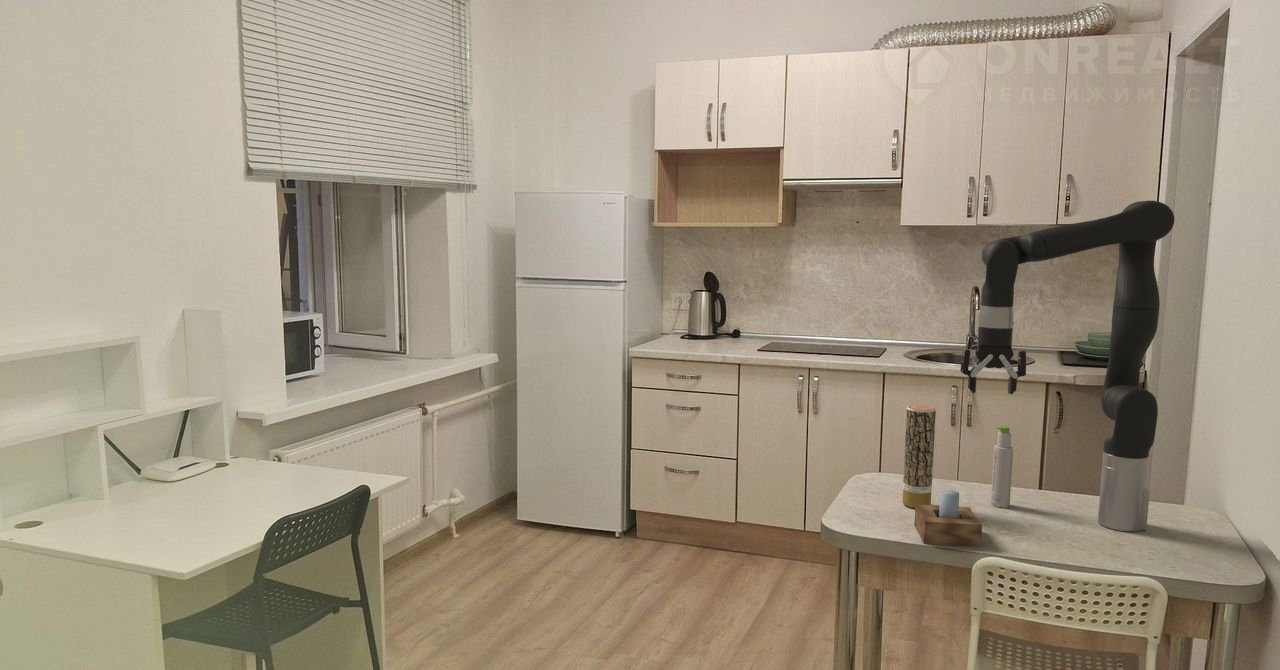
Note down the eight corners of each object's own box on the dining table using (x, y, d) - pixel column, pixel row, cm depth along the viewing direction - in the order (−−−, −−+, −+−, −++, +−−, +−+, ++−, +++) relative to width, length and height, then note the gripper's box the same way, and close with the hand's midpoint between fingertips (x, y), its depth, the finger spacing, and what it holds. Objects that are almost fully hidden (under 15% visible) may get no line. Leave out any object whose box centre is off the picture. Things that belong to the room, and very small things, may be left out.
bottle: (989, 501, 218) (993, 424, 216) (1007, 503, 217) (1012, 425, 215) (992, 507, 214) (997, 428, 211) (1011, 508, 213) (1016, 429, 210)
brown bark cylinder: (934, 510, 211) (939, 410, 208) (906, 509, 211) (911, 410, 208) (925, 501, 218) (930, 404, 215) (898, 501, 218) (903, 404, 215)
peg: (954, 533, 195) (957, 490, 194) (958, 539, 191) (961, 495, 190) (936, 532, 196) (938, 489, 194) (939, 538, 192) (942, 494, 190)
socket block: (967, 528, 198) (969, 507, 198) (980, 546, 187) (982, 524, 186) (914, 525, 200) (915, 504, 200) (923, 543, 188) (924, 521, 188)
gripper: (1022, 324, 204) (1018, 391, 206) (960, 322, 206) (956, 389, 208) (1032, 327, 197) (1027, 397, 199) (967, 326, 199) (963, 394, 201)
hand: (991, 393), depth 204 cm, fingers open, 8 cm apart
